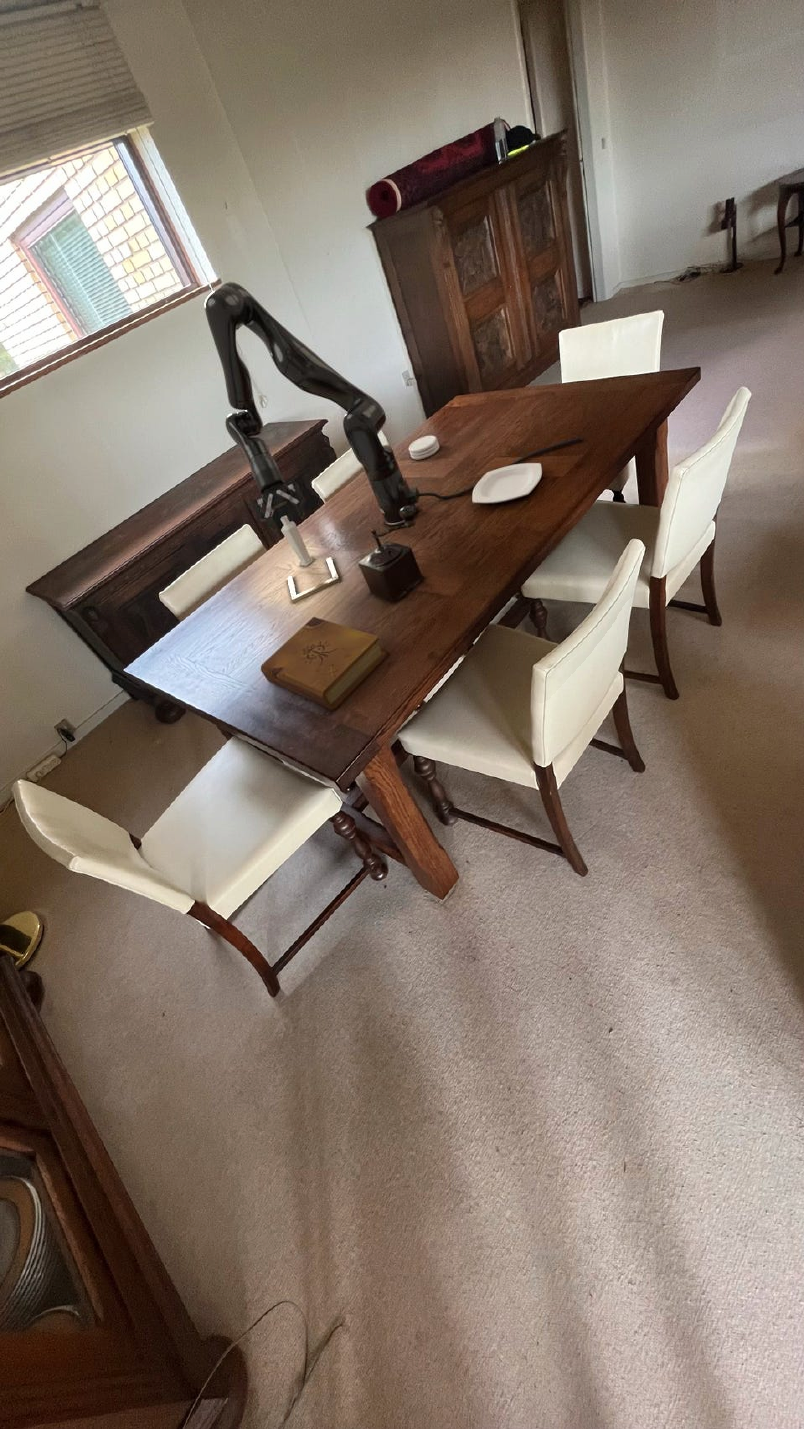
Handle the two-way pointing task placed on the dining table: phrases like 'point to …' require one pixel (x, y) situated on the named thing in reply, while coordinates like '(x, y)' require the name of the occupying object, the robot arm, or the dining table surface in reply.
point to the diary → (323, 662)
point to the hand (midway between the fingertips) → (288, 523)
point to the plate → (507, 483)
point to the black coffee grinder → (392, 564)
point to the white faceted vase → (295, 541)
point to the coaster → (424, 447)
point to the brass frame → (316, 588)
